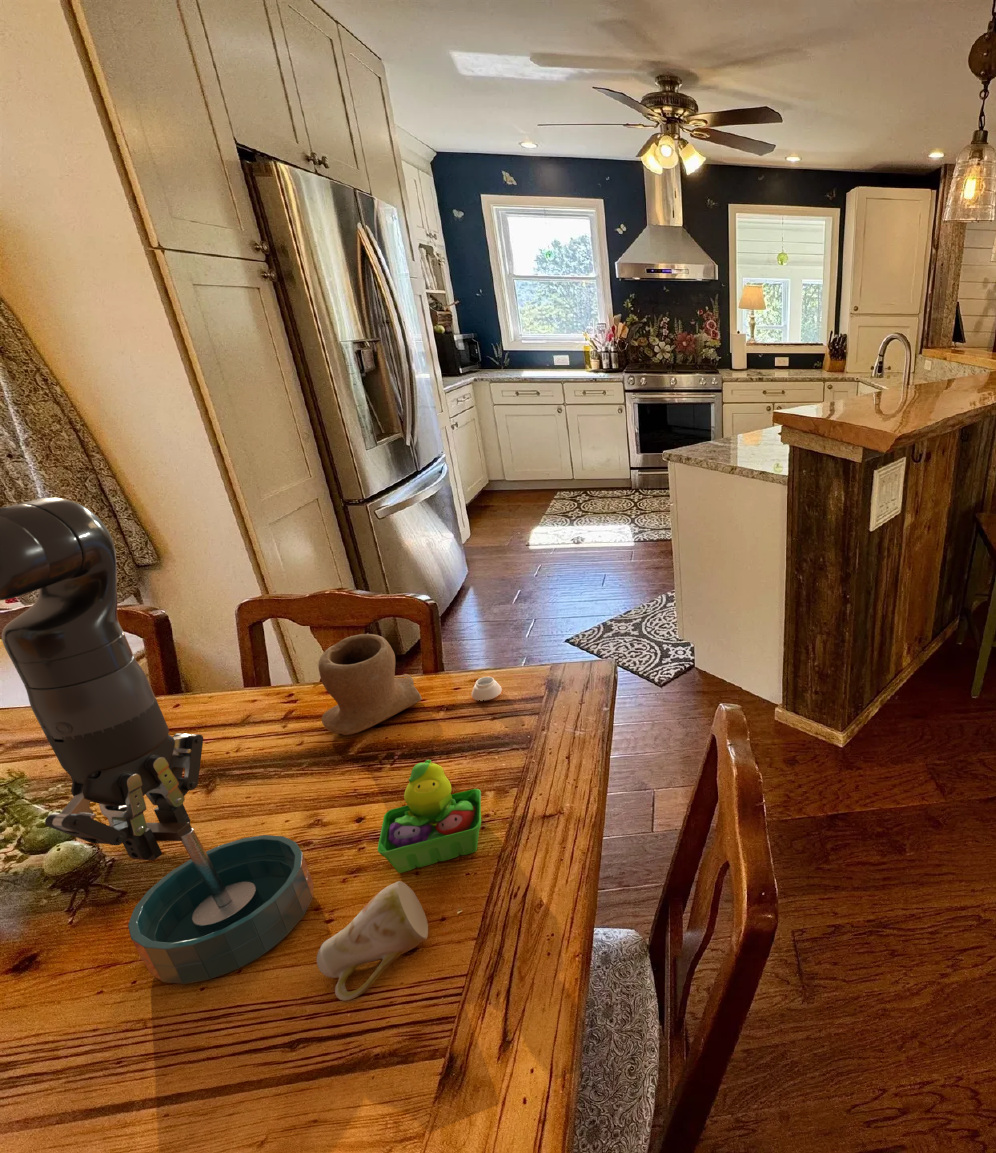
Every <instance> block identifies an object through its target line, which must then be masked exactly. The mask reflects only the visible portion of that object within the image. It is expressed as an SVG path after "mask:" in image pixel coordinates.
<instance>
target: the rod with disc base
mask: <svg viewBox="0 0 996 1153" xmlns="http://www.w3.org/2000/svg"><path fill="white" fill-rule="evenodd" d="M146 825H147V828H149V829H151V831H152V833H153V835H154V837H155V839H156V841H157V842H181V844H182V845H183V847H184V849H185V850H186V852H187V855H188V856H189V859H192V861H193V863H194V865H195V867H196V868H197V870H198V872H199V874H200V876H201V877H202V879H203V881H204V883H205V885H206V886H207V888H208V890H209V892H210V894H211V895H210V896H209V897H207V898H206V899H205V900H204V901H203V902H201V903H200V904H199V906H198V907H197V908H196V909H195V911H194V913H193V915H192V922H193V924H194V926H195V927H196V929H197V931H198V932H199V934H200V936H201V937H202V936H205V935H208V934H211V933H213V932H216V931H219V930H222V929H224V928H226V927H228V926H229V925H231V924H233V923H235V922H237V921H239V920H241V919H242V918H244V917H246V916H248V915H249V914H251V913H252V912H253V911H255V910H256V909H257V908H259V907H260V906H261V905H263V904H264V902H263V899H262V897H261V895H260V893H259V892H258V890H257V888H256V886H255V884H253V883H251V882H238V883H234V884H231V885H229V886H226V887H225V886H224V885H223V883H222V881H221V879H220V877H219V875H218V873H217V872H216V870H215V868H214V866H213V864H212V862H211V861H210V859H209V857H208V855H207V853H206V851H207V850H205V848H204V846H203V844H202V842H201V840H200V839H199V837H198V834H197V832H196V831H195V829H194V828H193V827H192V825H191V822H190V823H160V822H146ZM108 826H110V825H109V824H108Z"/></svg>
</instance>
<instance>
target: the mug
mask: <svg viewBox="0 0 996 1153" xmlns="http://www.w3.org/2000/svg"><path fill="white" fill-rule="evenodd" d="M428 935H429V923H428V919H427V915H426V913H425V910H424V908H423V906H422V904H421V902H420V901H419V898H418V896H417V895H416V893H415V892H414V890H413V889H412V888H411V887H410V886H408V885H407V883H405V882H403V881H402V880H398V881H396V882H394V883H392V884H391V883H390V884H388V885H387V886H386V887H384V888H382V889H381V890H379V891H378V892H377V893H376V894H375V895H374V896H373V897H372V898H371V899H370V900H369V901H368V902H367V903H366V904H365V905H364V906H363V908H362V909H361V910H360V911H359V912H358V914H357V915H356V916H355V917H354V918H353V919H352V920H351V921H350V922H349V923H348V924H347V925H346V926H345V927H344V928H342V929H341V930H339V931H338V932H337V933H335V934H334V935H332V936H331V937H329V938H328V939H326V940H324V941H322V944H321V945H320V947H319V949H318V952H317V954H316V965H317V968H318V970H319V972H320V973H321V974H322V975H323V976H324V977H327V978H331V979H338V980H337V983H336V984H335V987H334V995H335V996H336V998H337V999H338V1000H340V1001H342V1002H346V1001H351V1000H354V999H356V998H358V997H359V996H361V995H362V994H364V993H365V992H367V990H368V989H370V988H371V987H372V985H373V984H374V983H375V982H376V981H377V980H378V978H379V977H380V976H381V975H382V974H383V972H384V971H385V970H386V969H387V968H388V967H389V966H391V964H392V963H394V962H395V961H397V959H398V958H399V957H400V956H401V955H403V954H405V953H407V952H409V951H411V950H413V949H415V948H416V947H417V946H419V945H420V944H421V943H423V942H424V941H426V940H427V939H428ZM380 960H381V962H380V963H379V964H378V966H377V967H376V968H375V969H374V971H373V973H372V974H371V975H370V976H369V977H368V978H367V979H366V980H365V982H364V983H363V984H362V985H361V986H359V987H358V988H356V989H354V990H350V991H348V990H347V988H346V982H347V979H348V978H350V976H351V975H353V973H354V972H355V971H356V969H357V968H358V967H360V966H362V965H365V964H367V963H371V962H375V961H376V962H377V961H380Z"/></svg>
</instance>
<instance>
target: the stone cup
mask: <svg viewBox="0 0 996 1153" xmlns="http://www.w3.org/2000/svg"><path fill="white" fill-rule="evenodd" d="M317 668H318V672H319V677H320V680H321V683H322V686H323V687H324V689H325V690H326V692H327V693H328V694H329V695H330V696H331V697H332V698H333V700H334V701H335V702H336V703H337V704H336V705H334V706H333V707H331V708H329V709H328V710H326V711H325V712H324V713H323V714H322V716H321V722H322V725H323V727H324V728H325V729H326V730H328V731H329V732H330V733H332V734H335V735H344V736H349V735H355V734H357V733H360V732H363V731H365V730H368V729H370V728H373V727H374V726H376V725H378V724H380V723H382V722H384V721H386V720H388V719H390V718H392V717H394V716H395V715H397V714H399V713H401V712H403V711H404V710H406V709H409V708H410V707H412V706H414V705H416V704H418V703H419V702H421V701H422V699H423V698H422V694H421V693H420V692H419V691H418V689H417V687H416V686H415V683H414V678H413V677H412V676H411V675H409V674H408V673H404V674H401V675H399V676H398V677H407V678H397V677H395V676H396V673H395V672H396V655H395V651H394V650H393V648H392V646H391V644H390V643H389V642H388V641H387V639H386V638H384V637H383V636H380V635H379V634H372V633H361V634H356V635H351V636H348V637H345V638H343V639H341V640H340V641H338V642H337V643H335V644H333V645H332V646H329V647H328V648H326V649H325V650H324V651H323V653H322V654H321V656H320V657H319V660H318V667H317Z"/></svg>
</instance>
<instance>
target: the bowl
mask: <svg viewBox="0 0 996 1153" xmlns="http://www.w3.org/2000/svg"><path fill="white" fill-rule="evenodd" d="M205 851H206V853H207V855H208V857H209V859H210V861H211V862H212V864H213V866H214V868H215V870H216V872H217V873H218V875H219V877H220V879H221V881H222V883H223V885H224V886H225V887H226V886H229V885H231V884H234V883H238V882H251V883H253V884H255V886H256V888H257V890H258V892H259V893H260V895H261V897H262V899H263V902H264V904H263V905H261V906H260V907H259V908H257V909H256V910H255V911H253V912H252V913H251V914H249V915H248V916H246V917H244V918H242V919H241V920H239V921H237V922H235V923H233V924H231V925H229V926H228V927H226V928H224V929H222V930H219V931H216V932H213V933H211V934H208V935H205V936H202V937H201V936H200V934H199V932H198V931H197V929H196V927H195V926H194V924H193V922H192V915H193V913H194V911H195V909H196V908H197V907H198V906H199V904H200V903H201V902H203V901H204V900H205V899H206V898H207V897H209V896H210V895H211V894H210V892H209V890H208V888H207V886H206V885H205V883H204V881H203V879H202V877H201V876H200V874H199V872H198V870H197V868H196V867H195V865H194V863H193V861H192V859H191V858H189V859H188V860H187V861H185V862H184V863H182V864H180V865H179V866H177V867H176V868H174V869H172V870H171V871H170V872H168V873H167V874H165V875H164V876H163V877H162V878H161V879H159V880H158V881H157V882H156V883H155V884H154V885H153V886H152V887H150V888H149V889H148V890H147V891H146V893H145V894H144V895H143V896H142V898H141V899H140V900H139V901H138V903H137V904H136V905H135V906H134V908H133V911H132V913H131V916H130V918H129V921H128V923H127V928H128V932H129V937H130V940H131V942H132V943H133V945H134V948H135V949H136V951H137V952H138V954H139V956H140V958H141V960H142V962H143V964H144V966H145V967H146V969H147V971H148V973H149V975H151V976H153V977H154V978H156V979H157V980H159V981H160V982H161V983H168V984H177V985H178V984H180V985H186V984H187V985H188V984H192V983H197V982H203V981H209V980H212V979H215V978H218V977H222V976H224V975H228V974H230V973H232V972H235V971H237V970H240V969H241V968H244V967H245V966H247V965H249V964H251V963H253V962H254V961H256V960H257V959H259V958H261V957H262V956H264V955H265V954H266V953H268V952H270V951H271V950H272V949H273V948H274V947H276V946H277V945H279V943H281V942H282V941H283V940H284V939H285V938H286V937H287V936H288V935H289V934H290V933H291V932H292V931H293V930H294V928H296V926H297V925H298V924H299V923H300V921H301V920H302V919H303V918H304V917H305V915H306V913H307V911H308V909H309V907H310V905H311V903H312V902H313V899H314V888H315V887H314V886H315V884H314V882H313V879H312V875H311V873H310V870H309V868H308V864H307V862H306V859H305V855H304V854H303V851H302V849H301V848H300V846H299V844H298V843H297V842H296V841H294V840H292V839H290V838H289V837H286V836H283V835H271V834H261V835H254V836H248V837H242V838H240V839H235V840H233V841H230V842H226V843H223V844H220V845H217V846H215V847H213V848H211V849H209V850H205Z"/></svg>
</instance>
